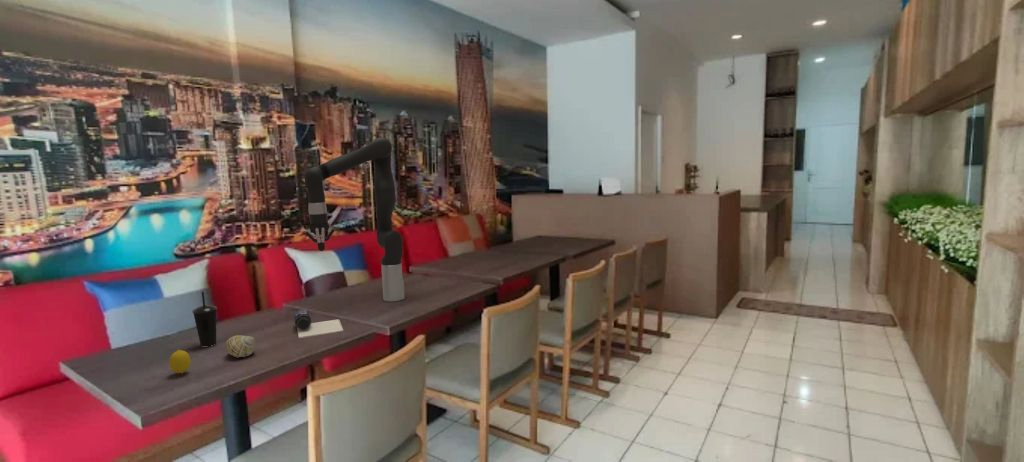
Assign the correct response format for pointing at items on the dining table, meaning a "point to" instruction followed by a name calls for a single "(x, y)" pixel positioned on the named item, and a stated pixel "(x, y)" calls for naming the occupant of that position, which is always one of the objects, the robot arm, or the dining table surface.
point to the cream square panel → (321, 328)
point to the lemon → (180, 361)
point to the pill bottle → (302, 319)
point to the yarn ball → (240, 346)
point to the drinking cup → (206, 323)
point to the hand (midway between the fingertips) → (321, 250)
